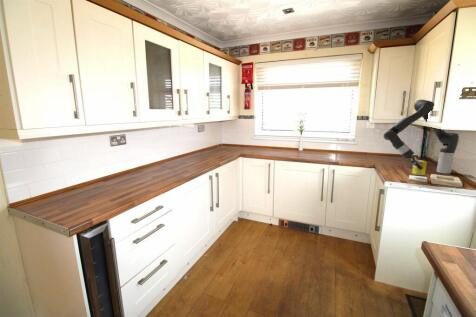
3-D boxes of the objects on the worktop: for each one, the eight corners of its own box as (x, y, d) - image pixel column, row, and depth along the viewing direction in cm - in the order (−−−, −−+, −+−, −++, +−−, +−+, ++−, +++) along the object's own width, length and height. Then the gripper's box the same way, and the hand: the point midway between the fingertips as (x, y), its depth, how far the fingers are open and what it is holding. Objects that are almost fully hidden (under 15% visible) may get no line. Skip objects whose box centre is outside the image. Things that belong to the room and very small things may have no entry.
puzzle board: (430, 177, 185) (430, 174, 184) (457, 180, 175) (458, 177, 175) (431, 183, 169) (432, 179, 168) (461, 187, 160) (462, 183, 159)
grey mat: (409, 176, 187) (409, 175, 187) (426, 178, 181) (426, 177, 180) (408, 179, 178) (408, 178, 177) (427, 182, 171) (427, 181, 171)
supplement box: (424, 176, 175) (427, 161, 173) (415, 175, 176) (418, 161, 174) (420, 174, 181) (422, 160, 179) (411, 173, 182) (413, 159, 180)
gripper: (409, 149, 173) (426, 166, 169) (410, 147, 185) (426, 163, 180) (400, 155, 178) (416, 172, 173) (401, 153, 189) (416, 169, 184)
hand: (421, 168), depth 177 cm, fingers closed on supplement box, 8 cm apart
